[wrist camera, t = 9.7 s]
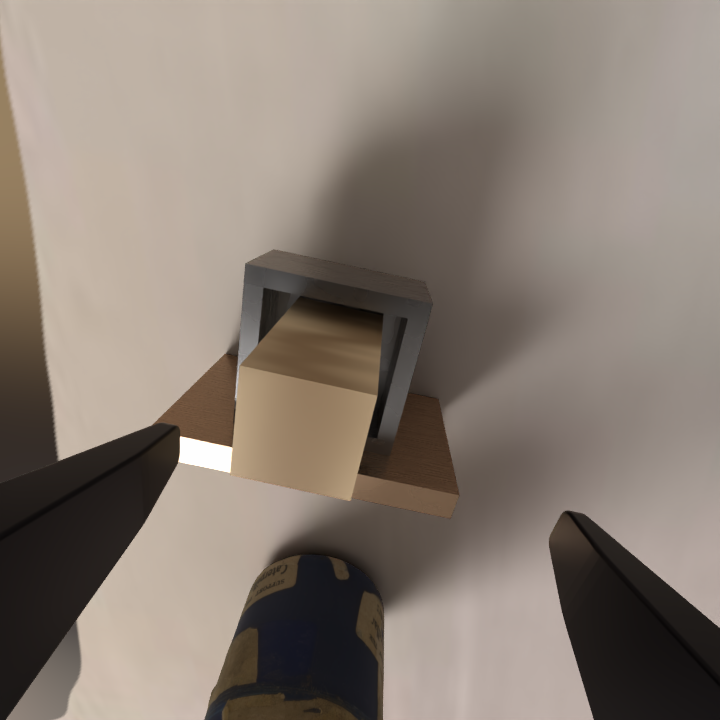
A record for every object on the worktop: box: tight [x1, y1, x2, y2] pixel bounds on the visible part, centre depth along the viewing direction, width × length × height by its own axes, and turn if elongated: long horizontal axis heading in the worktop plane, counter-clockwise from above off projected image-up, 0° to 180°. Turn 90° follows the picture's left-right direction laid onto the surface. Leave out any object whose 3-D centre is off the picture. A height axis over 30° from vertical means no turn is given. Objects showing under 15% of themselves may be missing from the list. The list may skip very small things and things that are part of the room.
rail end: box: [230, 297, 383, 501], centre depth 14 cm, size 4×4×7 cm
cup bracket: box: [153, 249, 459, 518], centre depth 18 cm, size 12×13×8 cm
